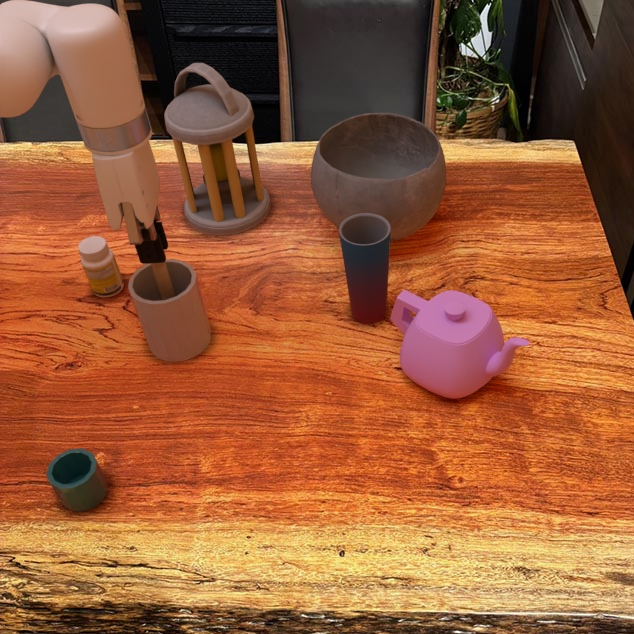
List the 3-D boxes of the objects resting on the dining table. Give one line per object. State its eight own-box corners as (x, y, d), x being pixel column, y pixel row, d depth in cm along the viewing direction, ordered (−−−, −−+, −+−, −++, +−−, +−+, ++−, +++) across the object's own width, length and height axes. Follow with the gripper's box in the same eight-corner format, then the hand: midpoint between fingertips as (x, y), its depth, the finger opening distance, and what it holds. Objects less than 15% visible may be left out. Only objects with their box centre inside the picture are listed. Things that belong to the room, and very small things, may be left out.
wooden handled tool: (166, 338, 111) (130, 228, 97) (169, 322, 113) (134, 213, 99) (188, 336, 111) (155, 226, 97) (190, 321, 113) (158, 211, 99)
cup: (396, 324, 114) (395, 241, 103) (349, 331, 114) (342, 248, 102) (388, 293, 119) (385, 209, 107) (342, 299, 118) (335, 216, 107)
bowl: (403, 282, 120) (402, 199, 109) (292, 240, 128) (280, 158, 116) (466, 210, 131) (471, 127, 120) (361, 175, 139) (356, 94, 128)
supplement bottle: (101, 275, 123) (84, 232, 117) (129, 279, 123) (114, 235, 116) (87, 296, 120) (69, 253, 114) (116, 300, 120) (100, 256, 113)
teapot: (495, 433, 101) (503, 374, 92) (366, 367, 109) (362, 308, 101) (545, 367, 108) (556, 307, 99) (420, 310, 116) (421, 250, 108)
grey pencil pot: (144, 364, 111) (123, 305, 102) (152, 319, 116) (133, 261, 108) (208, 359, 111) (192, 301, 103) (213, 315, 117) (198, 256, 108)
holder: (56, 513, 95) (42, 489, 91) (65, 474, 99) (52, 450, 95) (104, 510, 95) (91, 486, 91) (111, 471, 99) (99, 446, 95)
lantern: (287, 198, 135) (268, 55, 116) (235, 245, 127) (206, 100, 109) (221, 175, 140) (192, 34, 122) (167, 219, 132) (128, 76, 114)
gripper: (93, 91, 94) (134, 219, 107) (66, 168, 83) (116, 299, 97) (157, 87, 94) (190, 215, 108) (139, 164, 83) (178, 295, 97)
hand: (154, 254), depth 102 cm, fingers closed on wooden handled tool
